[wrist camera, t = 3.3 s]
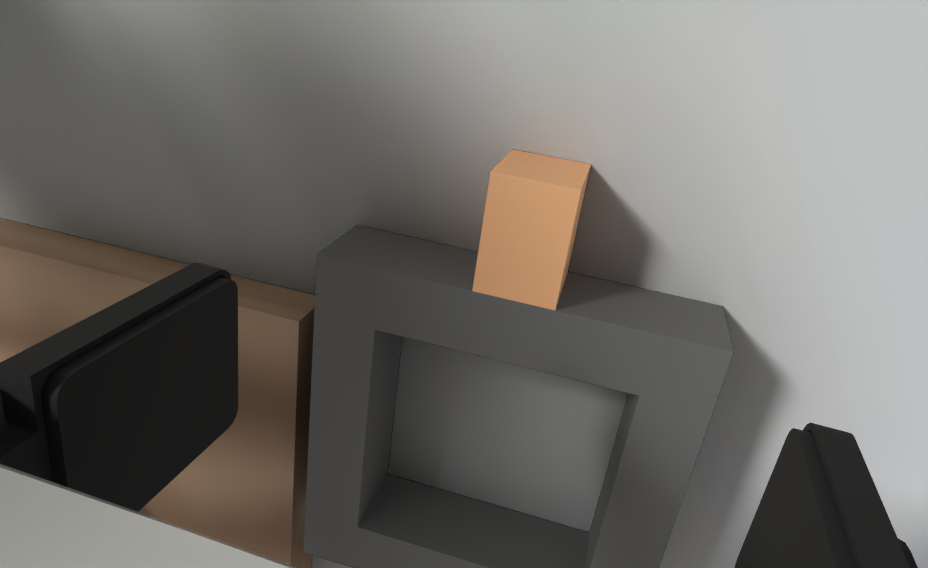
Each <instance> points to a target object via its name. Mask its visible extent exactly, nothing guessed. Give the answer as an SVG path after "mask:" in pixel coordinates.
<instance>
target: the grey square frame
mask: <svg viewBox="0 0 928 568" xmlns="http://www.w3.org/2000/svg"><path fill="white" fill-rule="evenodd" d="M590 166H591V164H586V163H581V162H576V161H570V160H565V159H560V158H555V157H550V156H544V155H539V154H534V153H529V152H523V151H518V150H513V149H512V150H511V151H510V152H509V153H508V154H507V155H506V156H505V157H504V158H503V159H502V160H501V161H500V162H499V163H498V164H497V165H496V166H495V167H494V168H493V169H492V170H491V171H490V178H489V184H488V191H487V197H486V204H485V211H484V217H483V224H482V230H481V237H480V243H479V250H478V252H476V251H472V250H467V249H463V248H458V247H454V246H449V245H445V244H440V243H436V242H431V241H427V240H422V239H418V238H413V237H409V236H404V235H400V234H395V233H391V232H386V231H382V230H377V229H373V228H368V227H364V226H359V225H356V226H355V227H354V228H352V229H351V230H350V231H348V232H347V233H346V234H344V235H343V236H341V237H340V238H339V239H337V240H336V241H335V242H333V243H332V244H331V245H329V246H328V247H327V248H325V249H324V250H323V251H321V252H320V253H319V254H317V263H316V286H315V308H314V331H313V353H312V376H311V398H310V421H309V443H308V466H307V488H306V511H305V533H304V552H305V553H308V554H311V555H314V556H317V557H321V558H324V559H327V560H330V561H333V562H336V563H339V564H342V565H345V566H349V567H352V568H659V565H660V562H661V560H662V557H663V554H664V551H665V548H666V545H667V542H668V539H669V537H670V534H671V531H672V528H673V525H674V522H675V519H676V516H677V513H678V511H679V508H680V505H681V502H682V499H683V496H684V493H685V490H686V488H687V485H688V482H689V479H690V476H691V473H692V470H693V467H694V465H695V462H696V459H697V456H698V453H699V450H700V447H701V444H702V441H703V439H704V436H705V433H706V430H707V427H708V424H709V421H710V418H711V416H712V413H713V410H714V407H715V404H716V401H717V398H718V395H719V392H720V390H721V387H722V384H723V381H724V378H725V375H726V372H727V369H728V367H729V364H730V361H731V358H732V355H733V348H732V343H731V339H730V334H729V330H728V326H727V321H726V317H725V312H724V308H723V306H719V305H714V304H710V303H705V302H701V301H696V300H692V299H687V298H683V297H678V296H674V295H669V294H665V293H660V292H656V291H651V290H647V289H642V288H638V287H633V286H629V285H624V284H620V283H615V282H611V281H606V280H602V279H597V278H593V277H588V276H584V275H579V274H575V273H570V272H568V269H569V264H570V259H571V255H572V250H573V245H574V241H575V236H576V231H577V227H578V222H579V218H580V213H581V208H582V204H583V199H584V194H585V190H586V185H587V180H588V176H589V171H590ZM402 336H403V337H407V338H411V339H415V340H419V341H423V342H427V343H431V344H435V345H439V346H443V347H447V348H451V349H455V350H459V351H463V352H467V353H471V354H475V355H479V356H483V357H487V358H491V359H495V360H499V361H502V362H506V363H510V364H514V365H518V366H522V367H526V368H530V369H534V370H538V371H542V372H546V373H550V374H554V375H558V376H562V377H566V378H570V379H574V380H578V381H582V382H586V383H590V384H594V385H598V386H602V387H606V388H610V389H614V390H618V391H622V392H626V393H628V397H627V400H626V404H625V407H624V411H623V415H622V418H621V422H620V425H619V429H618V432H617V436H616V440H615V443H614V447H613V450H612V454H611V457H610V461H609V465H608V468H607V472H606V475H605V479H604V482H603V486H602V490H601V493H600V497H599V500H598V504H597V507H596V511H595V515H594V518H593V522H592V525H591V529H590V532H589V533H588V532H585V531H582V530H578V529H575V528H571V527H568V526H564V525H561V524H558V523H554V522H551V521H547V520H544V519H540V518H537V517H534V516H530V515H527V514H523V513H520V512H516V511H513V510H510V509H506V508H503V507H499V506H496V505H492V504H489V503H486V502H482V501H479V500H475V499H472V498H468V497H465V496H462V495H458V494H455V493H451V492H448V491H444V490H441V489H437V488H434V487H431V486H427V485H424V484H420V483H417V482H413V481H410V480H407V479H403V478H400V477H396V476H393V475H389V474H388V465H389V456H390V447H391V437H392V428H393V419H394V410H395V400H396V391H397V382H398V372H399V363H400V354H401V345H402Z"/></svg>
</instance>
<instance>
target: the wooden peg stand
mask: <svg viewBox="0 0 928 568" xmlns="http://www.w3.org/2000/svg"><path fill="white" fill-rule="evenodd" d="M188 265H190V264H186V263H182V262H177V261H173V260H169V259H165V258H161V257H157V256H153V255H149V254H145V253H141V252H137V251H133V250H129V249H125V248H120V247H116V246H112V245H108V244H104V243H100V242H96V241H92V240H88V239H84V238H80V237H76V236H72V235H68V234H63V233H59V232H55V231H51V230H47V229H43V228H39V227H35V226H31V225H27V224H23V223H19V222H15V221H11V220H6V219H2V218H0V362H2V361H4V360H6V359H8V358H10V357H12V356H14V355H16V354H18V353H20V352H22V351H24V350H25V349H27V348H29V347H31V346H33V345H35V344H37V343H39V342H41V341H43V340H45V339H47V338H49V337H51V336H53V335H55V334H57V333H58V332H60V331H62V330H64V329H66V328H68V327H70V326H72V325H74V324H76V323H78V322H80V321H82V320H84V319H86V318H88V317H89V316H91V315H93V314H95V313H97V312H99V311H101V310H103V309H105V308H107V307H109V306H111V305H113V304H115V303H117V302H119V301H121V300H122V299H124V298H126V297H128V296H130V295H132V294H134V293H136V292H138V291H140V290H142V289H144V288H146V287H148V286H150V285H152V284H153V283H155V282H157V281H159V280H161V279H163V278H165V277H167V276H169V275H171V274H173V273H175V272H177V271H179V270H181V269H183V268H185V267H186V266H188ZM230 276H231V280H233V281H235V282H236V284H237V287H238V412H237V415H236V418H235V420H234V422H233V423H232V425H231V426H230V427H229V428H228V429H227V430H226V431H225V432H224V433H223V434H222V435H221V436H220V437H219V438H217V439H216V440H215V441H214V442H213V443H212V444H211V445H210V446H209V447H208V448H207V449H206V450H204V451H203V452H202V453H201V454H200V455H199V456H198V457H197V458H196V459H195V460H194V461H193V462H192V463H190V464H189V465H188V466H187V467H186V468H185V469H184V470H183V471H182V472H181V473H180V474H179V475H178V476H176V477H175V478H174V479H173V480H172V481H171V482H170V483H169V484H168V485H167V486H166V487H165V488H163V489H162V490H161V491H160V492H159V493H158V494H157V495H156V496H155V497H154V498H153V499H152V500H151V501H149V502H148V503H147V504H146V505H145V506H144V507H143V508H142V509H141V510H140V511H139V512H140V513H143V514H146V515H149V516H151V517H154V518H157V519H160V520H163V521H166V522H169V523H171V524H174V525H177V526H180V527H183V528H186V529H189V530H192V531H194V532H197V533H200V534H203V535H206V536H209V537H212V538H215V539H217V540H220V541H223V542H226V543H229V544H232V545H234V546H237V547H240V548H243V549H246V550H248V551H251V552H254V553H257V554H260V555H263V556H265V557H268V558H271V559H274V560H277V561H280V562H282V563H285V564H288V565H291V566H294V567H296V568H311V567H312V555H311V554H308V553H305V552H304V533H305V511H306V488H307V466H308V443H309V421H310V398H311V376H312V353H313V331H314V308H315V295H312V294H308V293H304V292H300V291H296V290H291V289H287V288H283V287H279V286H275V285H271V284H267V283H263V282H259V281H255V280H251V279H247V278H243V277H239V276H234V275H230Z"/></svg>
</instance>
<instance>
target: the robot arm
mask: <svg viewBox="0 0 928 568" xmlns="http://www.w3.org/2000/svg"><path fill="white" fill-rule="evenodd" d="M237 412H238V287H237V284H236V282H235V281H233V280H231V276H230V274H229V273H228V272H227V271H226V270H223V269H219V268H215V267H211V266H207V265H203V264H200V263H193V264H190V265H188V266H186V267H185V268H183V269H181V270H179V271H177V272H175V273H173V274H171V275H169V276H167V277H165V278H163V279H161V280H159V281H157V282H155V283H153V284H152V285H150V286H148V287H146V288H144V289H142V290H140V291H138V292H136V293H134V294H132V295H130V296H128V297H126V298H124V299H122V300H121V301H119V302H117V303H115V304H113V305H111V306H109V307H107V308H105V309H103V310H101V311H99V312H97V313H95V314H93V315H91V316H89V317H88V318H86V319H84V320H82V321H80V322H78V323H76V324H74V325H72V326H70V327H68V328H66V329H64V330H62V331H60V332H58V333H57V334H55V335H53V336H51V337H49V338H47V339H45V340H43V341H41V342H39V343H37V344H35V345H33V346H31V347H29V348H27V349H25V350H24V351H22V352H20V353H18V354H16V355H14V356H12V357H10V358H8V359H6V360H4V361H2V362H0V568H296V567H294V566H291V565H288V564H285V563H282V562H280V561H277V560H274V559H271V558H268V557H265V556H263V555H260V554H257V553H254V552H251V551H248V550H246V549H243V548H240V547H237V546H234V545H232V544H229V543H226V542H223V541H220V540H217V539H215V538H212V537H209V536H206V535H203V534H200V533H197V532H194V531H192V530H189V529H186V528H183V527H180V526H177V525H174V524H171V523H169V522H166V521H163V520H160V519H157V518H154V517H151V516H149V515H146V514H143V513H140V512H139V511H140V510H141V509H142V508H143V507H144V506H145V505H146V504H147V503H148V502H149V501H151V500H152V499H153V498H154V497H155V496H156V495H157V494H158V493H159V492H160V491H161V490H162V489H163V488H165V487H166V486H167V485H168V484H169V483H170V482H171V481H172V480H173V479H174V478H175V477H176V476H178V475H179V474H180V473H181V472H182V471H183V470H184V469H185V468H186V467H187V466H188V465H189V464H190V463H192V462H193V461H194V460H195V459H196V458H197V457H198V456H199V455H200V454H201V453H202V452H203V451H204V450H206V449H207V448H208V447H209V446H210V445H211V444H212V443H213V442H214V441H215V440H216V439H217V438H219V437H220V436H221V435H222V434H223V433H224V432H225V431H226V430H227V429H228V428H229V427H230V426H231V425H232V423H233V422H234V420H235V418H236V415H237ZM735 568H918V567H917V565H916V563H915V560H914V558H913V556H912V554H911V551H910V550H909V548H908V547H907V545H906V543H905V542H903V541H902V540H900V539H898V538H897V536H896V534H895V531H894V529H893V527H892V524H891V522H890V520H889V517H888V515H887V513H886V510H885V508H884V506H883V503H882V501H881V498H880V496H879V494H878V491H877V489H876V487H875V484H874V482H873V480H872V477H871V475H870V473H869V470H868V468H867V466H866V463H865V461H864V459H863V456H862V454H861V451H860V449H859V447H858V444H857V442H856V440H855V438H854V436H853V435H852V434H851V433H848V432H844V431H840V430H836V429H832V428H829V427H825V426H821V425H817V424H813V423H809V424H807V425H806V426H805V428H804V429H803V431H802V430H798V429H795V428H793V429H791V431H790V432H789V434H788V436H787V438H786V440H785V443H784V445H783V448H782V450H781V452H780V455H779V457H778V460H777V462H776V465H775V467H774V470H773V472H772V475H771V477H770V480H769V482H768V485H767V487H766V489H765V492H764V494H763V497H762V499H761V502H760V504H759V507H758V509H757V512H756V514H755V517H754V519H753V521H752V524H751V526H750V529H749V531H748V534H747V536H746V539H745V541H744V544H743V546H742V549H741V551H740V554H739V556H738V558H737V561H736V565H735Z"/></svg>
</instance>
